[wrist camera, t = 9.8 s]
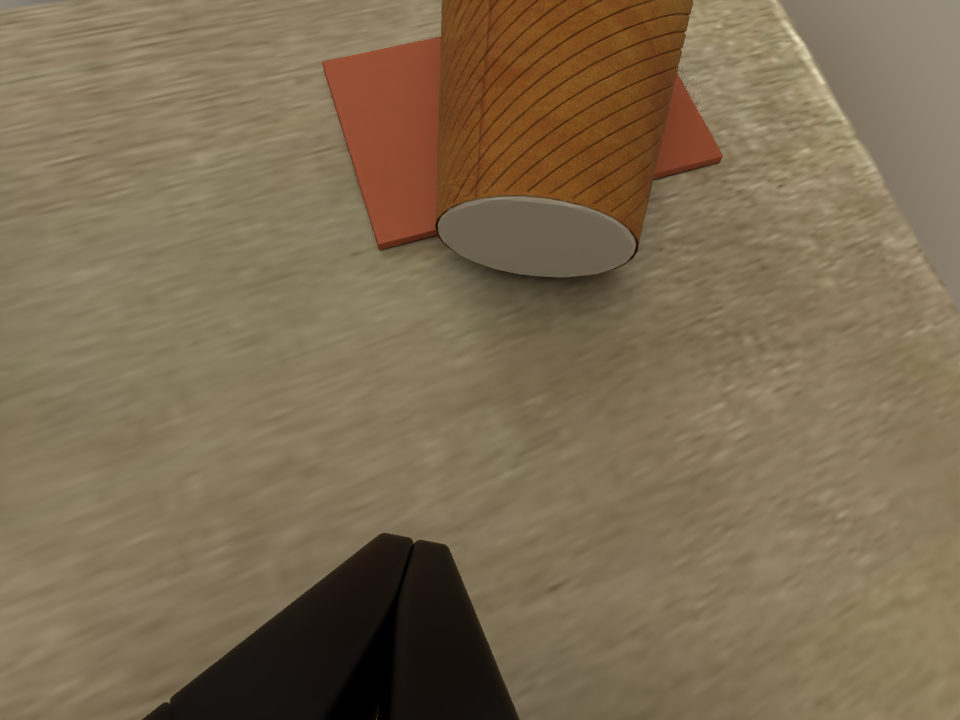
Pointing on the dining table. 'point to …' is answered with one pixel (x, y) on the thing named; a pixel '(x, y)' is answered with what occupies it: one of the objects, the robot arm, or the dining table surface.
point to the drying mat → (414, 134)
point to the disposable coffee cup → (552, 128)
